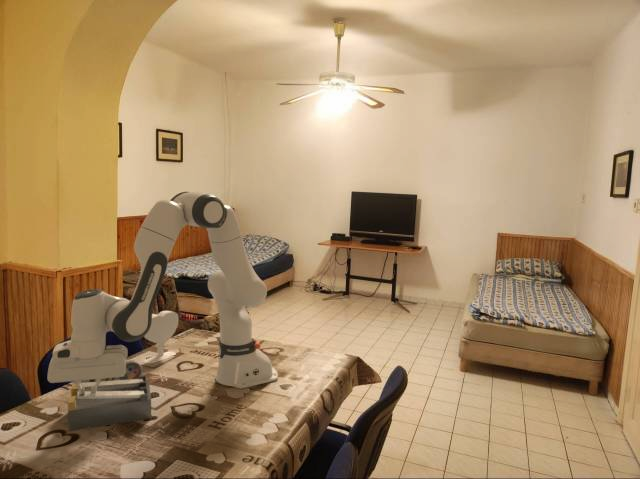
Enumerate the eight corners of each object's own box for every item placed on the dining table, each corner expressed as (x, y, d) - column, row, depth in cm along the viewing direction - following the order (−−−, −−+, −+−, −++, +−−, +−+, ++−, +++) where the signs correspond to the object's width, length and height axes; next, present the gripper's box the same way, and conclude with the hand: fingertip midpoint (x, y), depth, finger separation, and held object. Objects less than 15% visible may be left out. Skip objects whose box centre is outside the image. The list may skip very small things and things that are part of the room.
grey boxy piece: (148, 397, 156) (148, 373, 154) (151, 419, 142) (151, 393, 141) (73, 408, 147) (72, 382, 146) (68, 432, 134) (67, 404, 133)
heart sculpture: (171, 350, 198) (171, 308, 195) (180, 352, 195) (179, 310, 193) (139, 361, 184) (139, 316, 182) (148, 364, 182) (147, 319, 179)
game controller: (81, 394, 157) (80, 370, 155) (80, 391, 158) (79, 368, 157) (142, 381, 168) (142, 359, 166) (141, 379, 169) (140, 356, 168)
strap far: (143, 382, 153) (144, 378, 153) (144, 386, 150) (144, 382, 150) (79, 387, 146) (79, 383, 146) (78, 391, 143) (78, 387, 143)
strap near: (144, 394, 145) (145, 390, 145) (145, 399, 142) (145, 394, 142) (77, 395, 137) (77, 391, 137) (76, 400, 135) (76, 396, 134)
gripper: (127, 340, 142) (126, 385, 144) (49, 345, 134) (49, 392, 136) (127, 347, 136) (127, 394, 138) (46, 353, 128) (46, 402, 130)
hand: (88, 393), depth 137 cm, fingers closed
